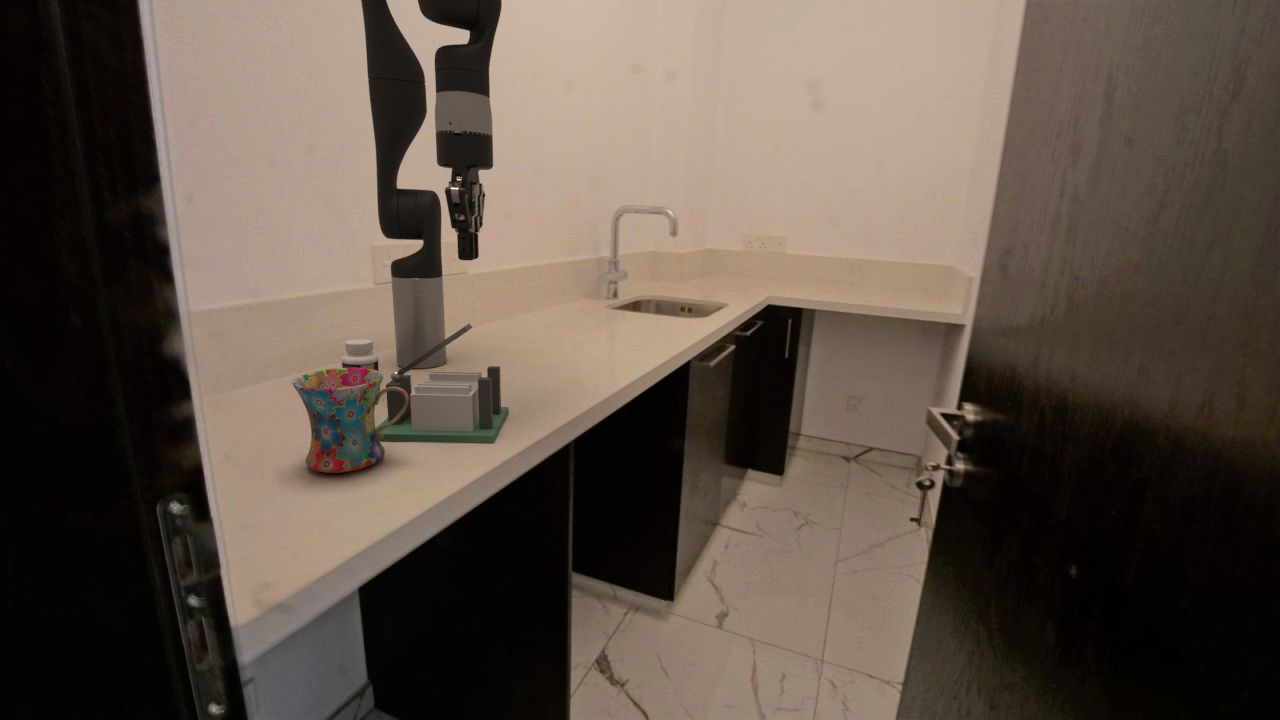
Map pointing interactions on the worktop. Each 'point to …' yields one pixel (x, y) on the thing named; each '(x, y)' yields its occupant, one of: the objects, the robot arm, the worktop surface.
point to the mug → (343, 417)
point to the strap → (429, 353)
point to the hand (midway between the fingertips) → (468, 259)
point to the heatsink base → (447, 408)
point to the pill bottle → (360, 355)
